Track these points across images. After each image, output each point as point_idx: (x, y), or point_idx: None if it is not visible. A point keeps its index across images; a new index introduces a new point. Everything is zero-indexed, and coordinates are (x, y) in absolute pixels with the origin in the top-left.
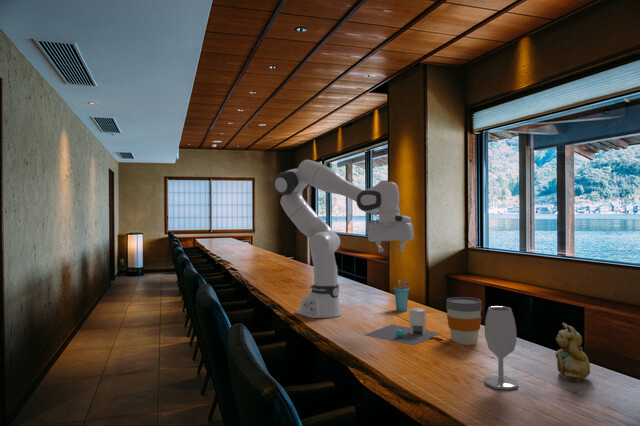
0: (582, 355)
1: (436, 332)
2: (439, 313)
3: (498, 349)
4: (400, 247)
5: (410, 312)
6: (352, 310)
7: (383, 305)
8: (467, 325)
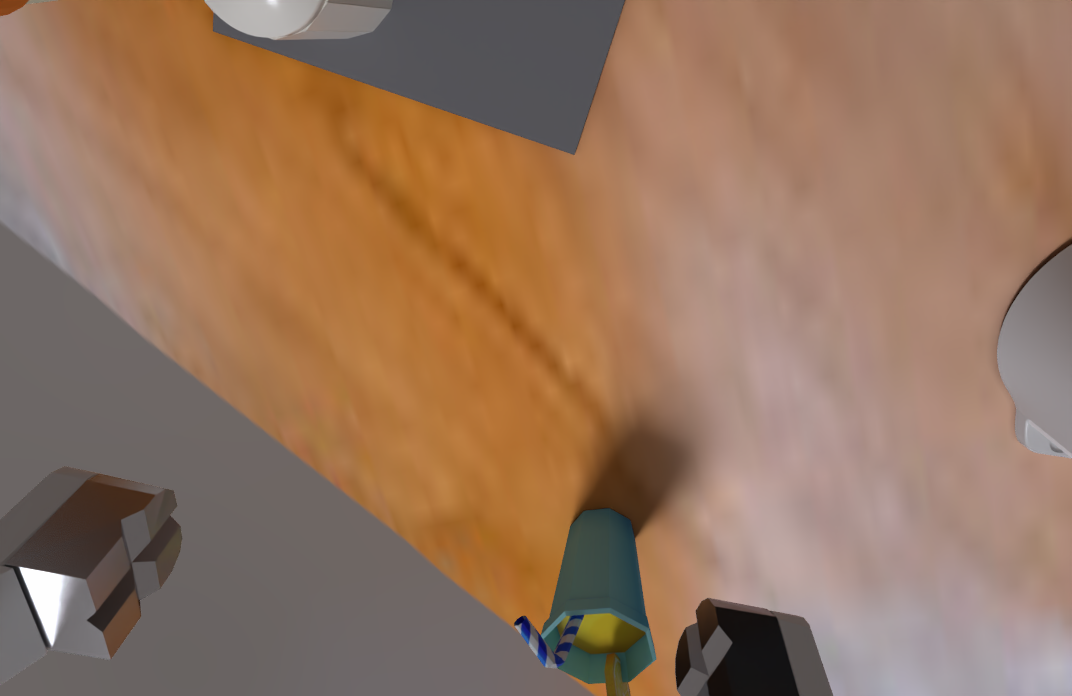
0: None
1: (239, 39)
2: (390, 509)
3: None
4: (11, 551)
5: None
6: (921, 477)
7: None
8: None
